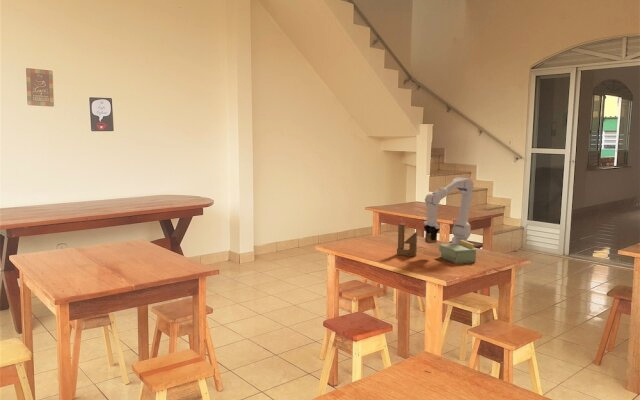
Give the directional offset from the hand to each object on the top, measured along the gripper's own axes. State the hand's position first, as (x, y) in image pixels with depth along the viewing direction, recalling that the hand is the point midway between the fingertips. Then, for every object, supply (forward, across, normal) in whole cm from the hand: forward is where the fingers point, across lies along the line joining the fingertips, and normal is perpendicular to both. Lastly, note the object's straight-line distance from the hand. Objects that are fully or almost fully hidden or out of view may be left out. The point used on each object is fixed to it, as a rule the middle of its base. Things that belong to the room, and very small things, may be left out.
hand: (431, 239), depth 298 cm
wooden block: (+11, -8, -11) cm, 17 cm away
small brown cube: (+2, 0, 0) cm, 2 cm away
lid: (+7, +9, +11) cm, 16 cm away
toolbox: (+10, +9, +12) cm, 18 cm away
